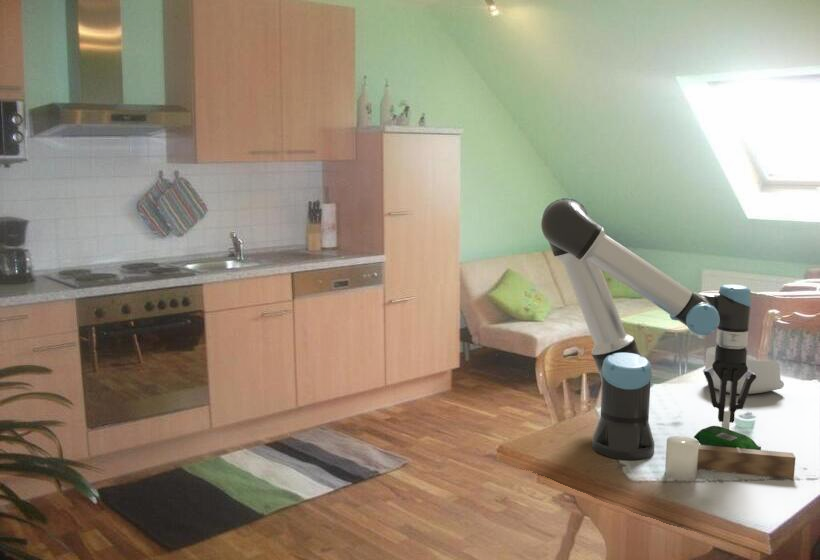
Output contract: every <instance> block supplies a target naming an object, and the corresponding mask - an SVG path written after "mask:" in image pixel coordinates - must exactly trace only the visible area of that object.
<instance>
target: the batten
mask: <svg viewBox="0 0 820 560" xmlns="http://www.w3.org/2000/svg"><path fill="white" fill-rule="evenodd" d="M795 467H796V456H795V454H794V453H793V452H788V451H787V452H786V451H775V450H774V451H773V450H766V449H765V450H764V449H761V450H754V449H742V448H738V447H736V448H731V447H719V446H708V445H700V444H699V449H698V465H697V470H700V469H705V470H704V471H710V470H715V471H714V472H721V471H725V472H724V473H732V472H735V473H734V474H742V475H743V474H745V475H752V476H753V475H757V476H764V477H765V476H767V477H774V478H775V477H776V478H786V479H787V478H788V479H794V478H795V471H796V470H795V469H796V468H795Z"/></svg>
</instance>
